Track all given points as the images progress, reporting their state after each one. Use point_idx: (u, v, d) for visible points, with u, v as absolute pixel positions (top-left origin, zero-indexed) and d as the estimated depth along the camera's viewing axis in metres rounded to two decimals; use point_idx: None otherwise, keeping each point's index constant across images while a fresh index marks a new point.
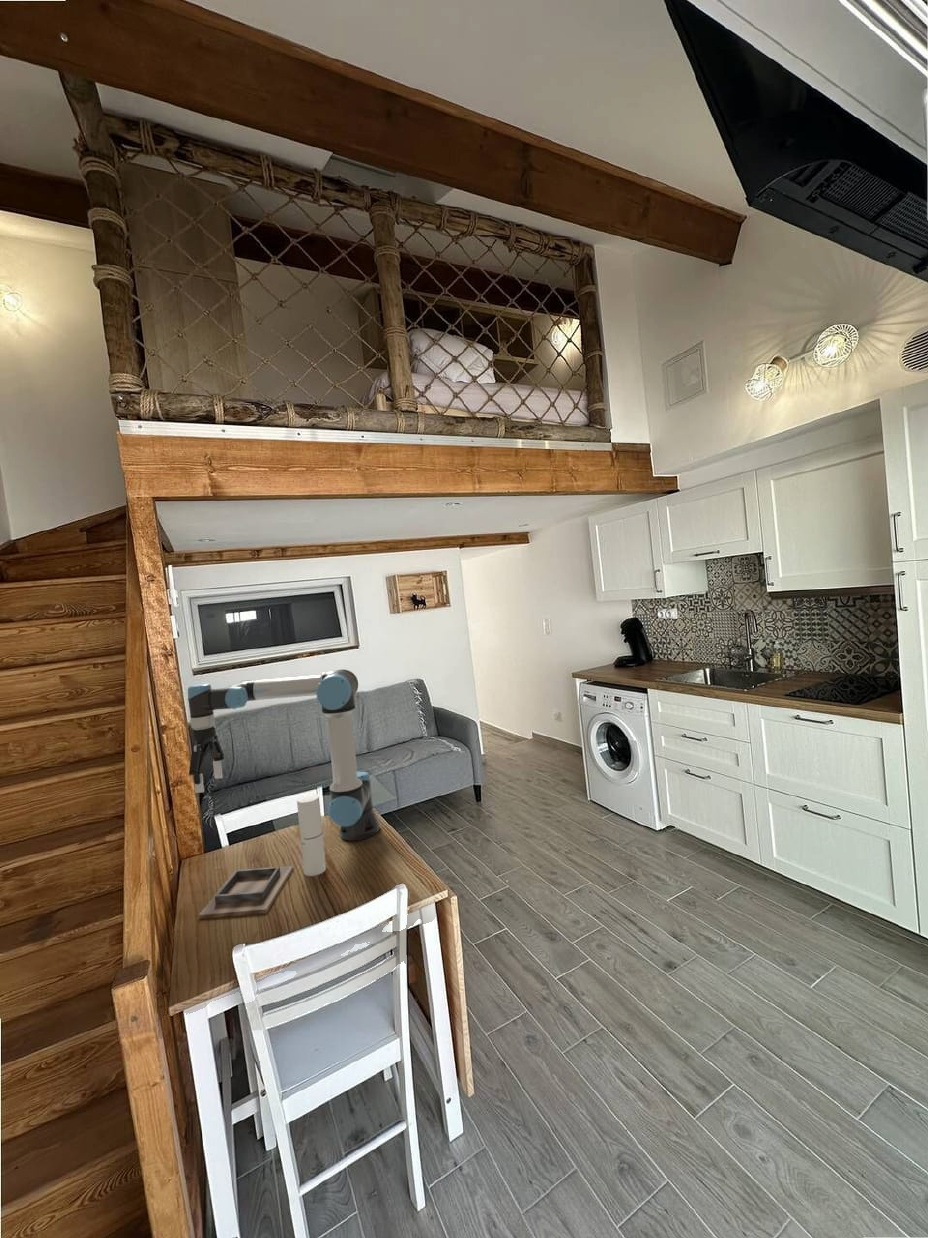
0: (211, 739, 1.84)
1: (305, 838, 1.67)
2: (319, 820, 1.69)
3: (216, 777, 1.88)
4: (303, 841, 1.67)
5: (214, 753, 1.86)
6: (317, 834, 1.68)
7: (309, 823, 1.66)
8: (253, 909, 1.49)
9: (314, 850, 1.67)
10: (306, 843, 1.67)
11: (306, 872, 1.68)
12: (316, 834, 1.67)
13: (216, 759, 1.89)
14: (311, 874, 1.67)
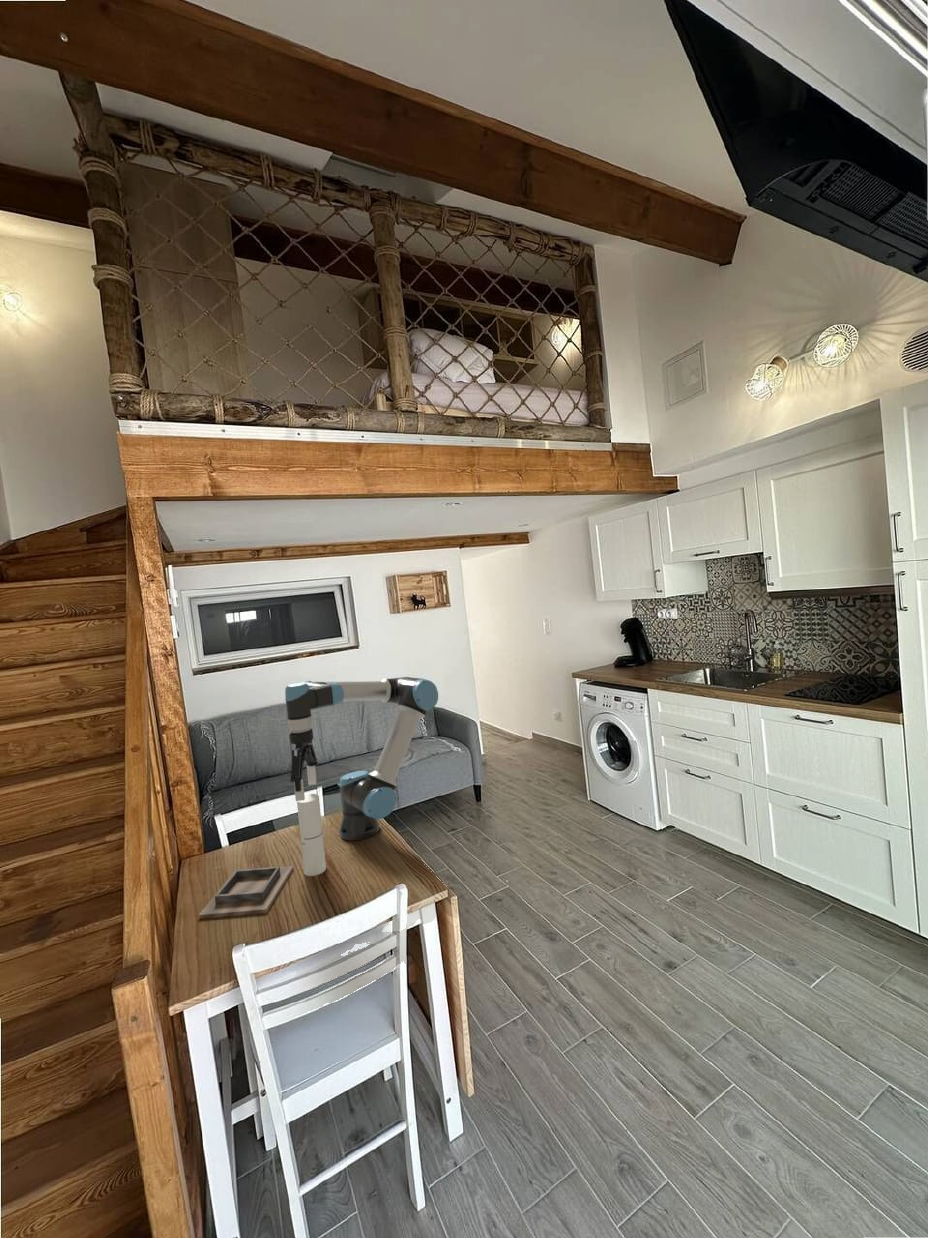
0: (307, 743, 1.71)
1: (305, 838, 1.67)
2: (319, 820, 1.69)
3: (310, 783, 1.75)
4: (303, 841, 1.67)
5: (309, 758, 1.73)
6: (317, 834, 1.68)
7: (309, 823, 1.66)
8: (253, 909, 1.49)
9: (314, 850, 1.67)
10: (306, 843, 1.67)
11: (306, 872, 1.68)
12: (316, 834, 1.67)
13: (310, 764, 1.76)
14: (311, 874, 1.67)
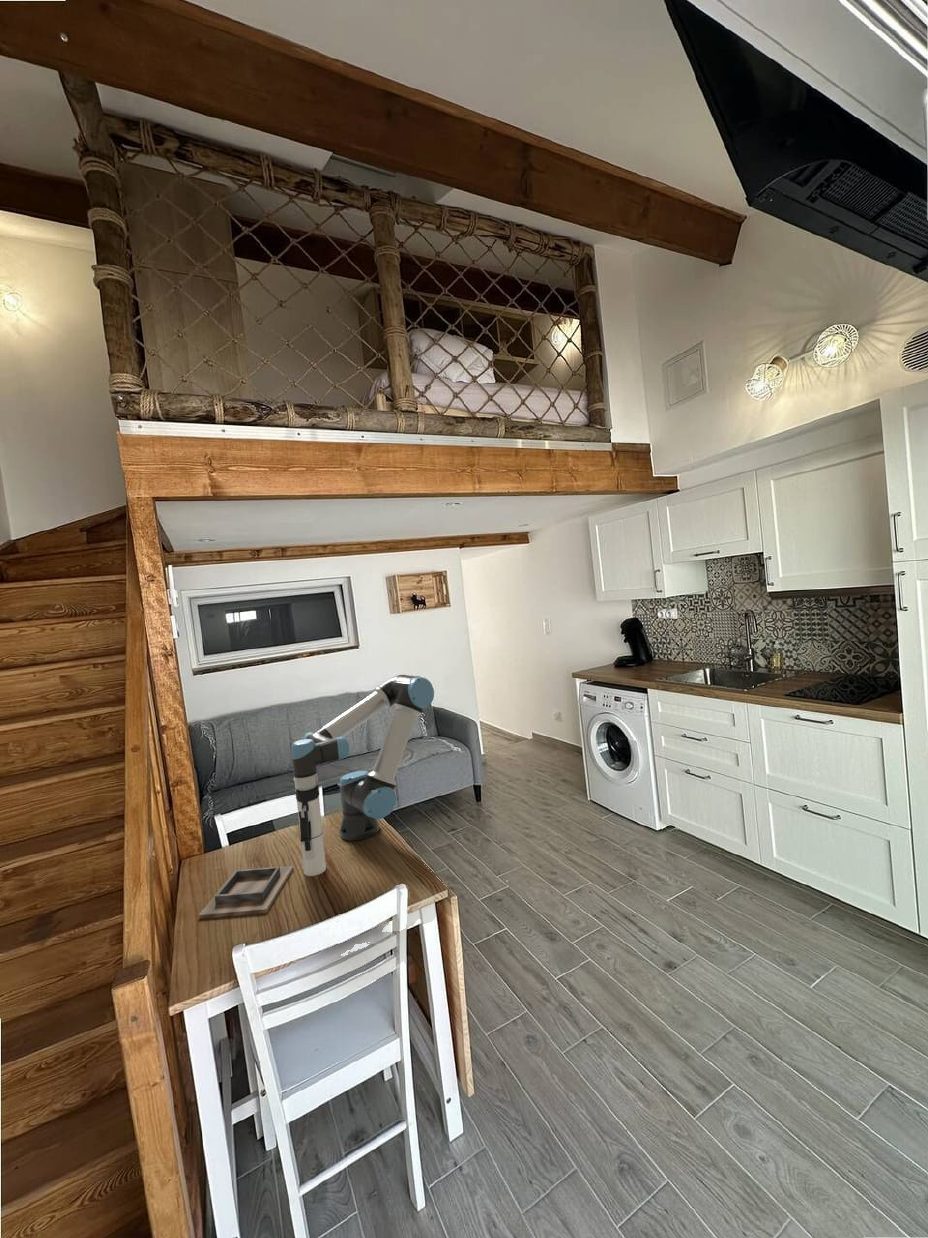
0: None
1: None
2: (319, 820, 1.69)
3: None
4: None
5: None
6: (317, 834, 1.68)
7: None
8: (253, 909, 1.49)
9: (314, 850, 1.67)
10: None
11: (306, 872, 1.68)
12: (316, 834, 1.67)
13: None
14: (311, 874, 1.67)
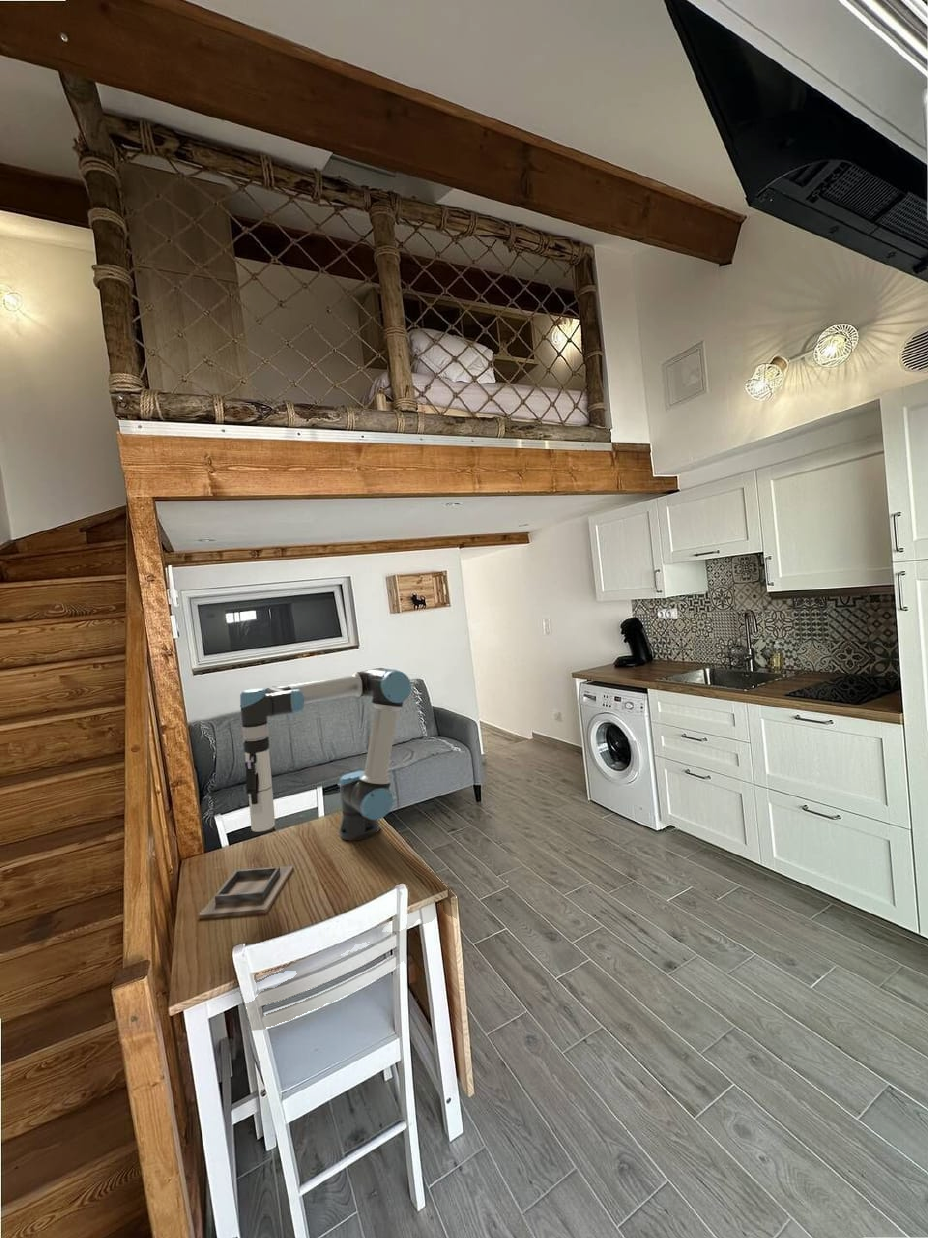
0: None
1: None
2: (268, 773, 1.61)
3: None
4: (250, 794, 1.59)
5: None
6: (265, 787, 1.60)
7: None
8: (253, 909, 1.49)
9: (262, 804, 1.59)
10: None
11: (253, 827, 1.59)
12: (264, 787, 1.59)
13: None
14: (258, 829, 1.59)
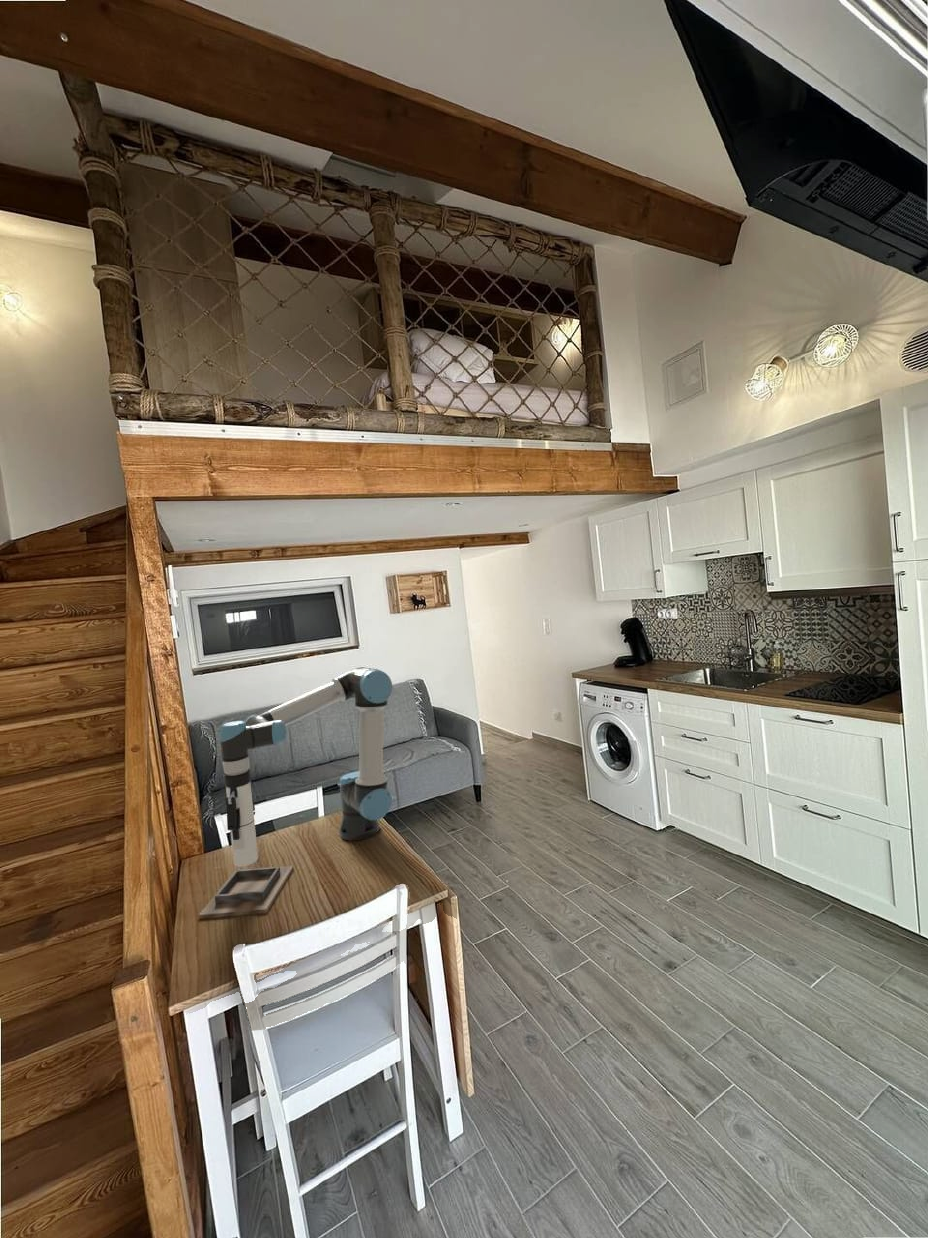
0: None
1: None
2: (250, 807, 1.58)
3: None
4: None
5: None
6: (247, 822, 1.57)
7: None
8: (253, 909, 1.49)
9: (244, 839, 1.56)
10: None
11: (235, 862, 1.57)
12: (246, 822, 1.57)
13: None
14: (240, 865, 1.56)
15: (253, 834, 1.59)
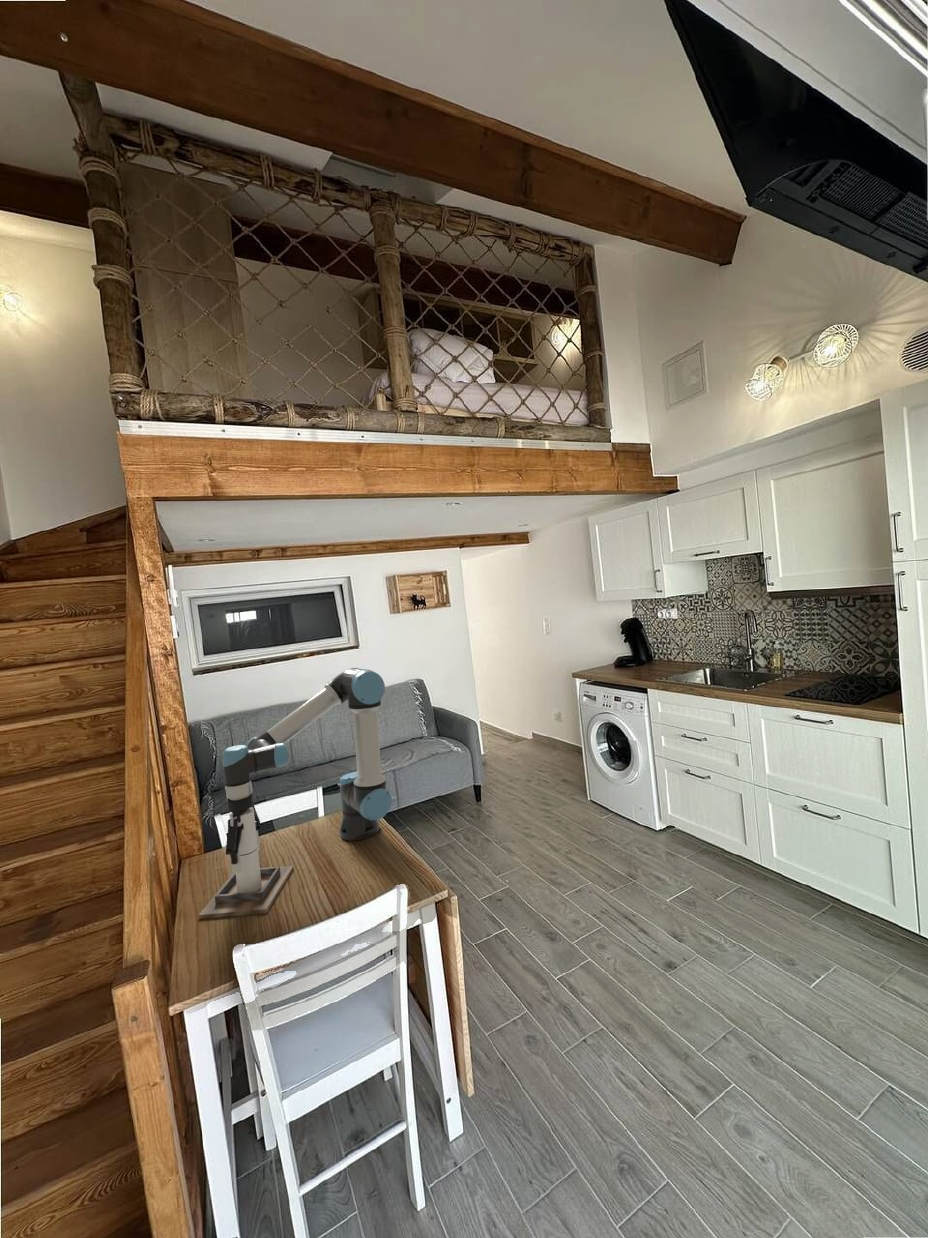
0: None
1: None
2: (253, 835, 1.59)
3: None
4: None
5: None
6: (250, 850, 1.58)
7: (241, 839, 1.56)
8: (253, 909, 1.49)
9: (247, 867, 1.57)
10: None
11: (239, 891, 1.57)
12: (249, 850, 1.57)
13: None
14: None
15: (256, 862, 1.59)
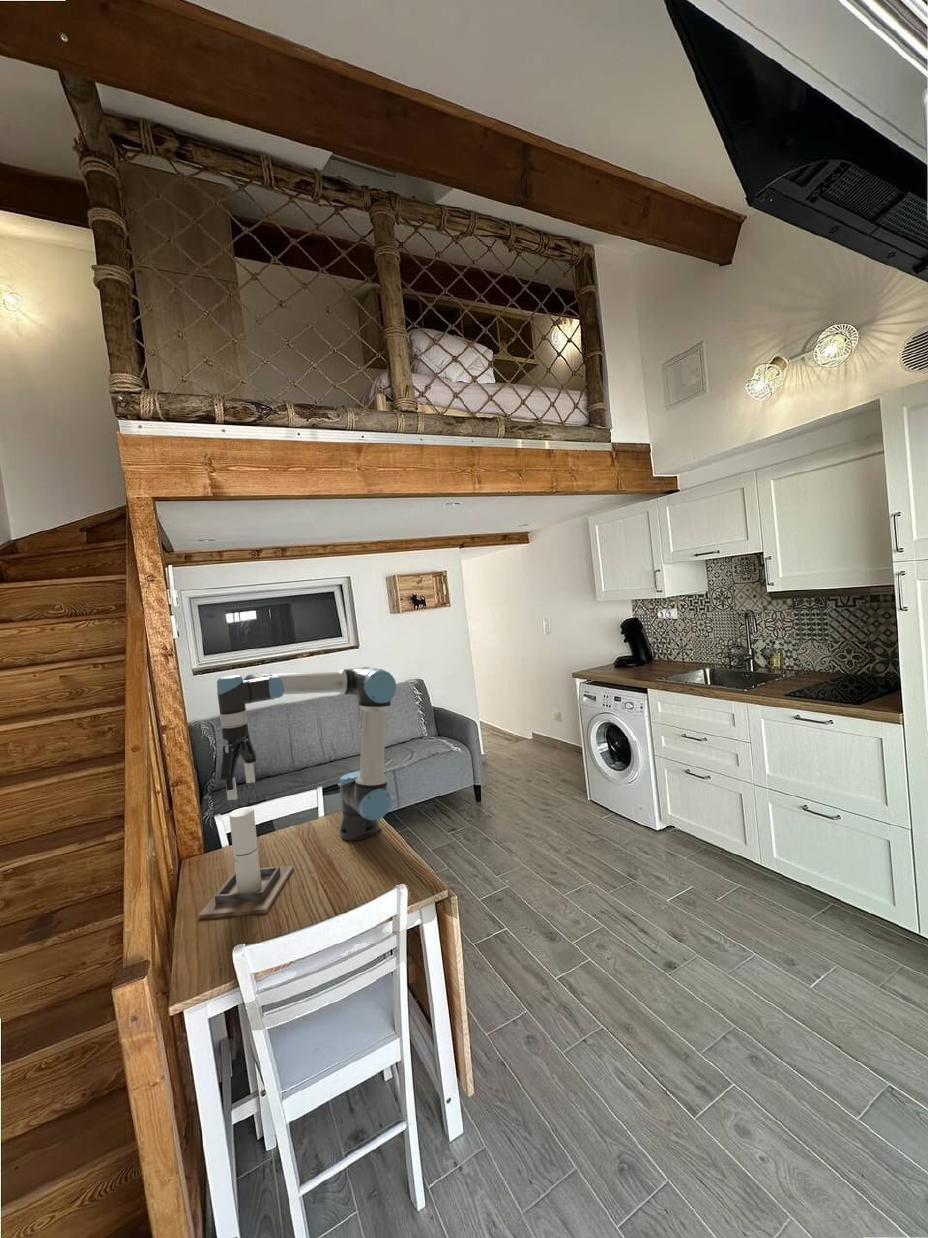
0: (243, 738, 1.62)
1: (237, 855, 1.57)
2: (253, 835, 1.59)
3: (248, 781, 1.66)
4: (235, 858, 1.57)
5: (246, 754, 1.64)
6: (250, 850, 1.58)
7: (241, 839, 1.56)
8: (253, 909, 1.49)
9: (247, 867, 1.57)
10: (238, 860, 1.57)
11: (239, 891, 1.57)
12: (249, 850, 1.57)
13: (248, 761, 1.67)
14: None
15: (256, 862, 1.59)
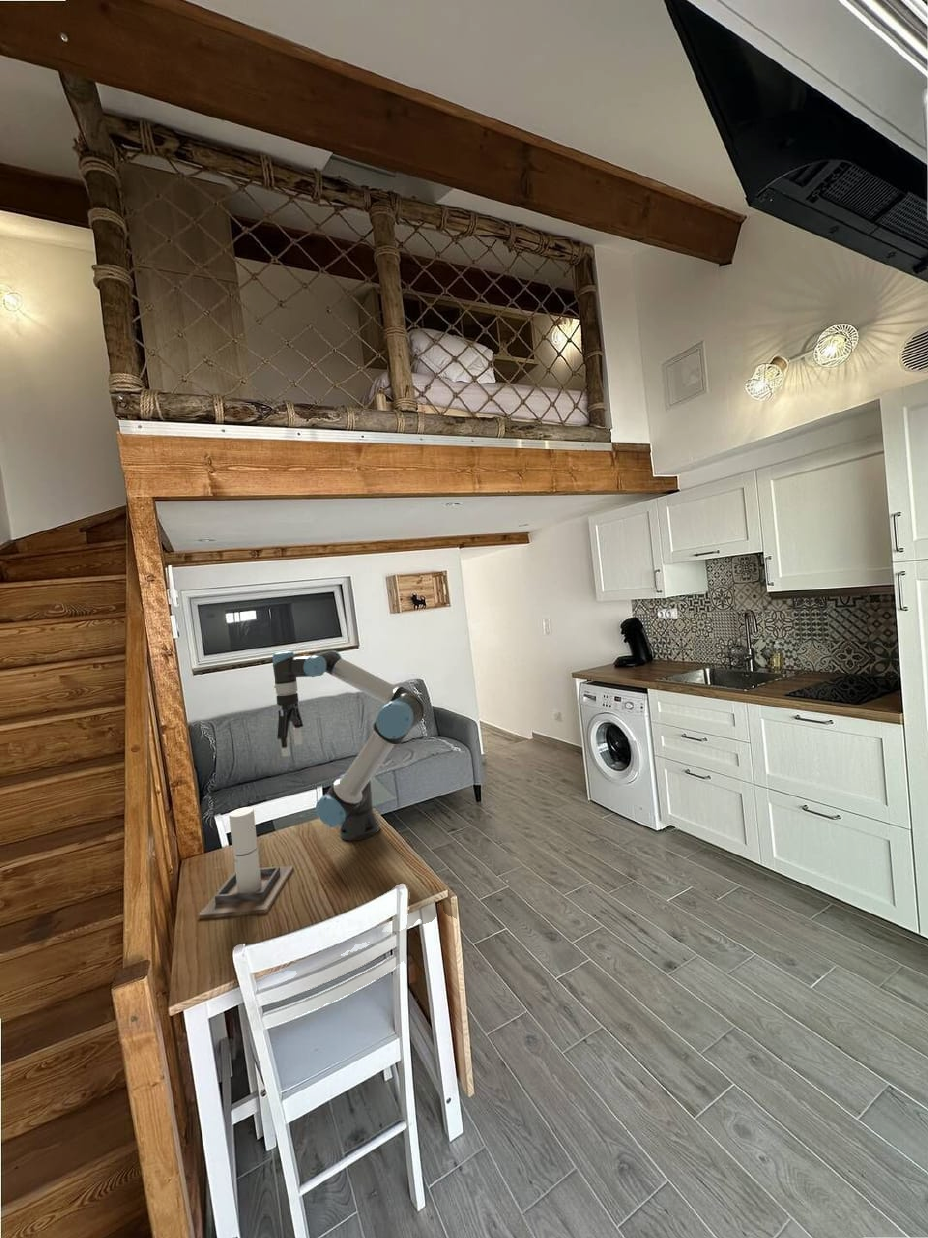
0: (293, 706, 1.89)
1: (237, 855, 1.57)
2: (253, 835, 1.59)
3: (296, 743, 1.93)
4: (235, 858, 1.57)
5: (295, 720, 1.91)
6: (250, 850, 1.58)
7: (241, 839, 1.56)
8: (253, 909, 1.49)
9: (247, 867, 1.57)
10: (238, 860, 1.57)
11: (239, 891, 1.57)
12: (249, 850, 1.57)
13: (296, 726, 1.94)
14: None
15: (256, 862, 1.59)
